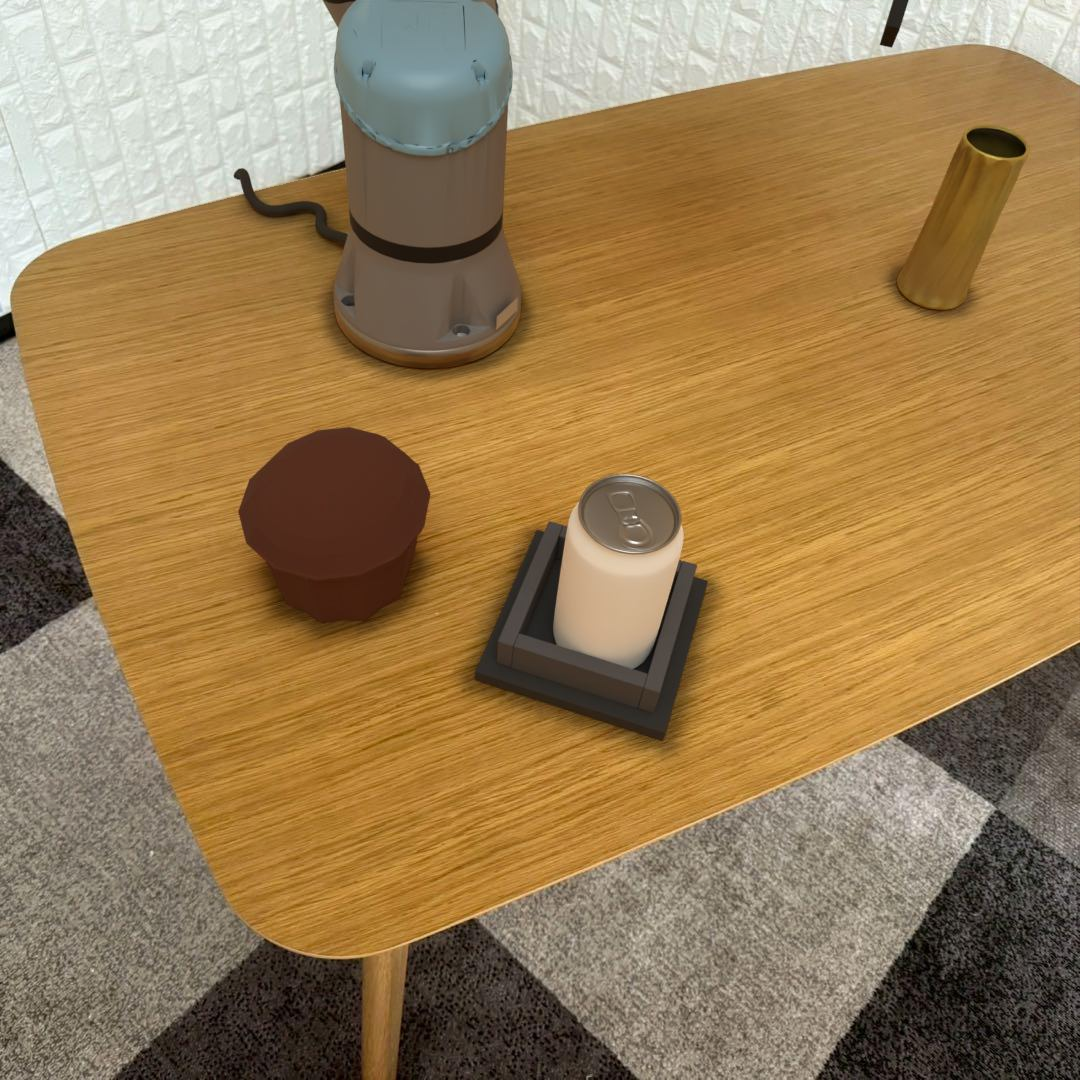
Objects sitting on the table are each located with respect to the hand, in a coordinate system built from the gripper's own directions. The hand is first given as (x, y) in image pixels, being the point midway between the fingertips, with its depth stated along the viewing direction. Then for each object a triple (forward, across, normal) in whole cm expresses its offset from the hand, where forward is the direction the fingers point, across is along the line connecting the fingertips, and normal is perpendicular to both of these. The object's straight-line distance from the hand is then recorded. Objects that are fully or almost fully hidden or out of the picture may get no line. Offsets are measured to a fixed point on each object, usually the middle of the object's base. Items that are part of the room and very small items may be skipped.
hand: (775, 13), depth 61 cm
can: (+39, -1, +1) cm, 39 cm away
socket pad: (+39, 0, 0) cm, 39 cm away
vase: (+7, -18, -33) cm, 38 cm away
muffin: (+40, +17, +1) cm, 43 cm away
